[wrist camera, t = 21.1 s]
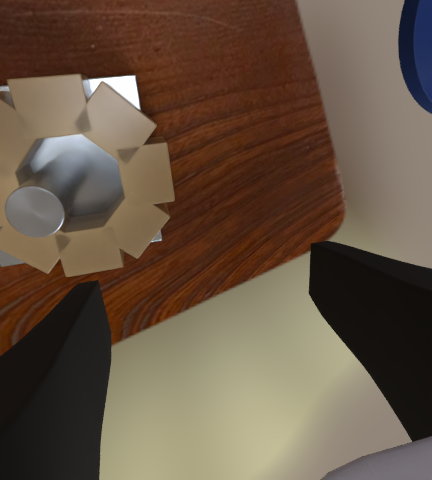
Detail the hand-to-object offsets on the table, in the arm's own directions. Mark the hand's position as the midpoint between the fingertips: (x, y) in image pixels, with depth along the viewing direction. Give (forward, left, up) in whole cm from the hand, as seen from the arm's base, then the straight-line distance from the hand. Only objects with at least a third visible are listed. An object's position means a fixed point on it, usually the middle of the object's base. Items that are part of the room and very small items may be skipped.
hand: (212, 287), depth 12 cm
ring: (+5, -2, -9) cm, 11 cm away
